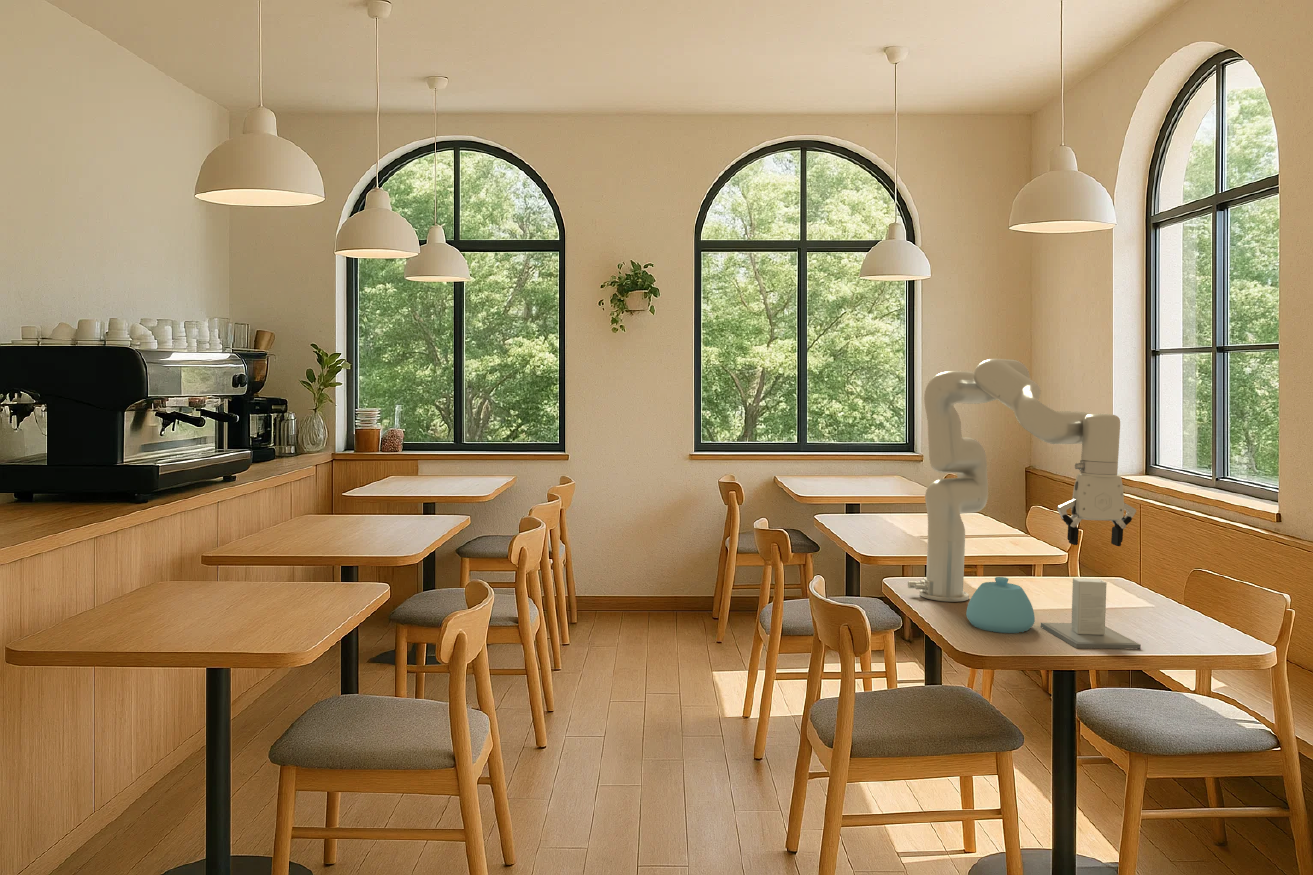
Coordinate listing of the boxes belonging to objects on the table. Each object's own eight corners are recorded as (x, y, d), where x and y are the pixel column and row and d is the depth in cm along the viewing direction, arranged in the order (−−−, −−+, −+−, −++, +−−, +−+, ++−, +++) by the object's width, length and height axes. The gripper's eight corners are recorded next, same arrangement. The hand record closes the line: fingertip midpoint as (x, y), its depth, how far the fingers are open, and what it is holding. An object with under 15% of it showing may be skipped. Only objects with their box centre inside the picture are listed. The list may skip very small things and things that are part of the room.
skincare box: (1097, 630, 213) (1099, 578, 212) (1105, 635, 209) (1107, 582, 208) (1069, 629, 214) (1072, 577, 213) (1077, 634, 209) (1079, 581, 209)
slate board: (1076, 648, 202) (1076, 643, 202) (1040, 626, 220) (1040, 622, 220) (1140, 649, 202) (1140, 644, 202) (1099, 627, 220) (1099, 623, 220)
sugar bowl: (952, 621, 224) (954, 573, 223) (1002, 616, 230) (1004, 569, 229) (996, 637, 210) (999, 586, 209) (1048, 632, 216) (1050, 582, 215)
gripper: (1067, 469, 206) (1063, 546, 207) (1146, 471, 206) (1141, 548, 208) (1053, 466, 214) (1049, 540, 215) (1129, 468, 214) (1124, 542, 215)
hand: (1094, 544), depth 211 cm, fingers open, 9 cm apart
